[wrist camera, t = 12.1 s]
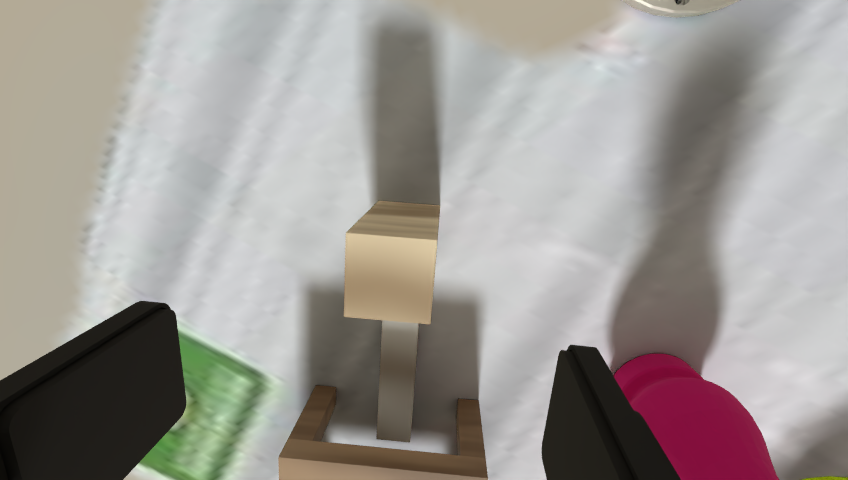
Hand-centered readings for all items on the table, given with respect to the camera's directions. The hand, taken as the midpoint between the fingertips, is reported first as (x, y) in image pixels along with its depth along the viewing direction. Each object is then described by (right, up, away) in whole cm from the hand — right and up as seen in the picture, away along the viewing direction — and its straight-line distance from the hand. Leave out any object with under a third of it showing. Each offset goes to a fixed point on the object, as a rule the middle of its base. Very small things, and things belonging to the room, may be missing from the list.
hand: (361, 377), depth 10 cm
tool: (0, -3, +19) cm, 19 cm away
